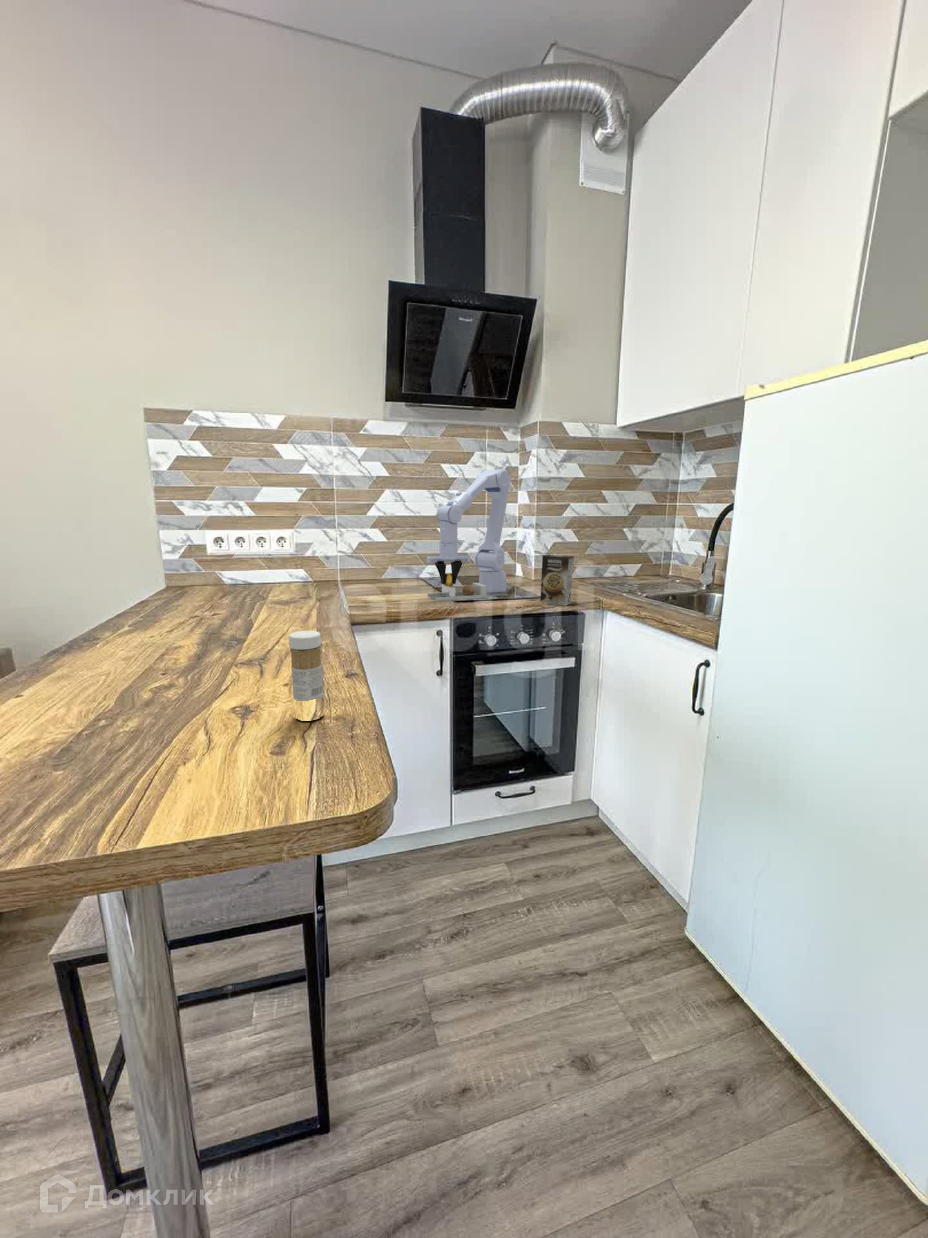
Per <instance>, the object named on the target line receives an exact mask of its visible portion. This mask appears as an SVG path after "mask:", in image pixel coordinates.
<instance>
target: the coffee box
mask: <svg viewBox="0 0 928 1238" xmlns="http://www.w3.org/2000/svg"><path fill="white" fill-rule="evenodd" d="M574 557H575V556H574V555H563V554H543V555H542V559H541V560H542V562H541V582H540V600H539V601H541V602H543V603H545V604H548V605H554V606H562V607H563V606H564V607H567V606H568V605H570V604H571V603H572V602H571V601H572V590H573V589H572V587H573V573H574V572H573V571H574V559H575V558H574Z"/></svg>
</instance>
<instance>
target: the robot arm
mask: <svg viewBox="0 0 928 1238" xmlns="http://www.w3.org/2000/svg"><path fill="white" fill-rule="evenodd" d="M511 480H512V479H511V476H510V473H509V472H508V470H507V469H505V468H500V469H483V470H481V471H480V472H479V473H477V476H476V479H475V480H474V481H473V482H472V483H471V484H470V485H469V487H467V488H466V489H465V491H464V490H461V491H457V492H456V493H455V496H454V497H453V498H452V499H450V500H448V501H447V503H446V504H445V505H441V506H440V507H439V508H438V509H437V512H436V513H435V518H436V520H437V522H438V528H439V555H432V556H431V555H430V556H426V563H427V564H432V563H433V564H434V565H435V567H436V569H437V572H438V575H439V577H440V578H439V579H440V583H441V585H442V584H445V573H447V572H446V570H447V564H446V563H450V569H451V573H453V585H456V583H457V579H458V576H459V572H460V570H461V568H462V567H463V562H464V563H465V562H468V563H469V562H471V555H469V554H465V555H462V554H460V555H459V554H458V523H460V522H461V520H462V517H463V513H465V511H466V510H468V509H469V508H470V507H471V506H472V504H473V500H474V498H475V497H477V496H478V495H479V494H481V493H482V492H483V491H485V493H486V494H487V495H489V496H490V497H491V504H490V510H489V515H488V521H487V527H486V533H485V538H484V542H483V543H482V544H480V545H479V547H478V549H477V552H476V554H475V556H474V563H475V566H476V567H477V570H478V571H479V573H478V575H479V576H478V577H479V579H478V580H479V581H478V583H480V584H483V585H485V586H486V593H499V592H500V593H503V592H507V574H506V572H505V570H502V569H503V568H504V565H505V552H506V551H505V548H503V547H502V546H501V545H500V543H501V538H502V532H503V528H504V526H503V525H504V519H505V516H506V512H507V511H506V510H507V505H508V498H509V491H510V485H511Z"/></svg>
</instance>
